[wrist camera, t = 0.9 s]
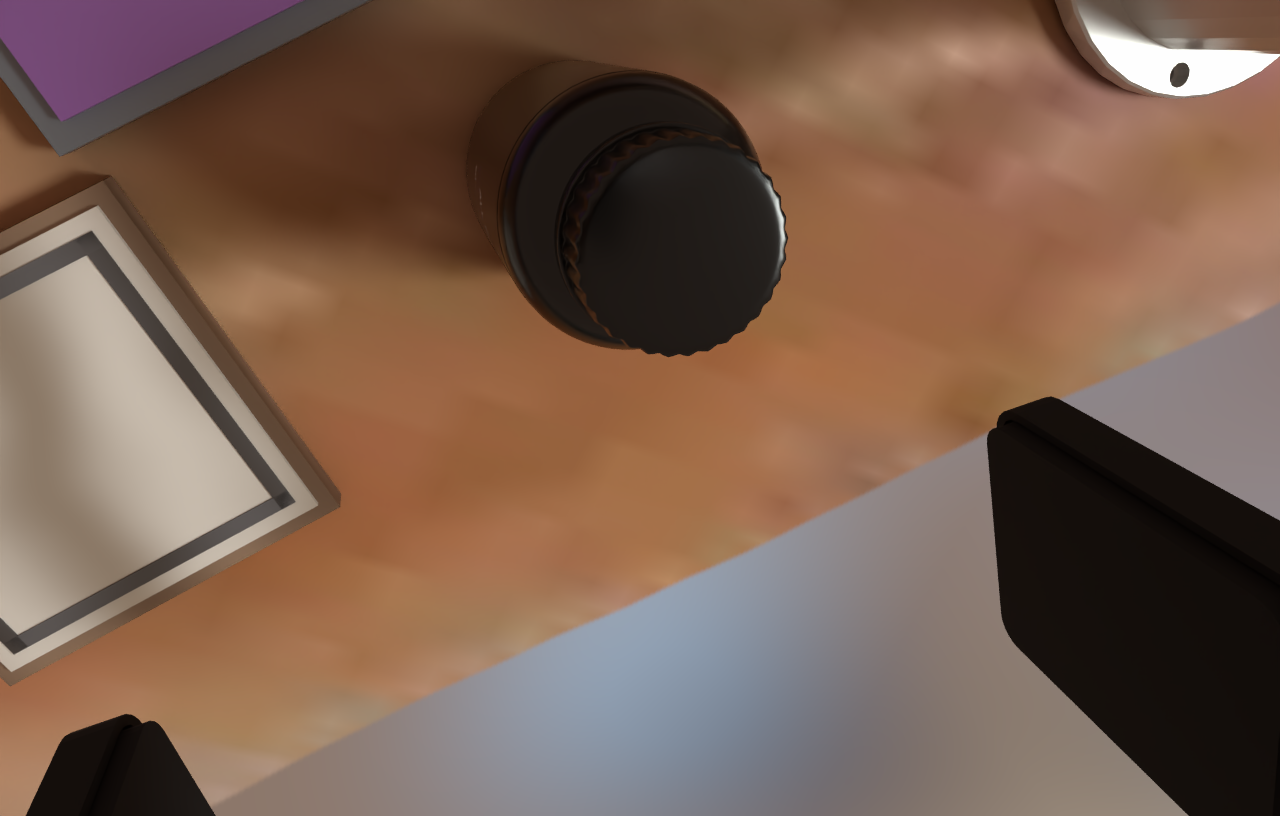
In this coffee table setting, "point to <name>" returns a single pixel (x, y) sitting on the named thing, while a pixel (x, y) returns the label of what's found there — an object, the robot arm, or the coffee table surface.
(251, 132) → the coffee table surface
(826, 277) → the coffee table surface
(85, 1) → the ink pad
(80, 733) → the robot arm
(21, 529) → the white square tile
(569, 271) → the supplement bottle
